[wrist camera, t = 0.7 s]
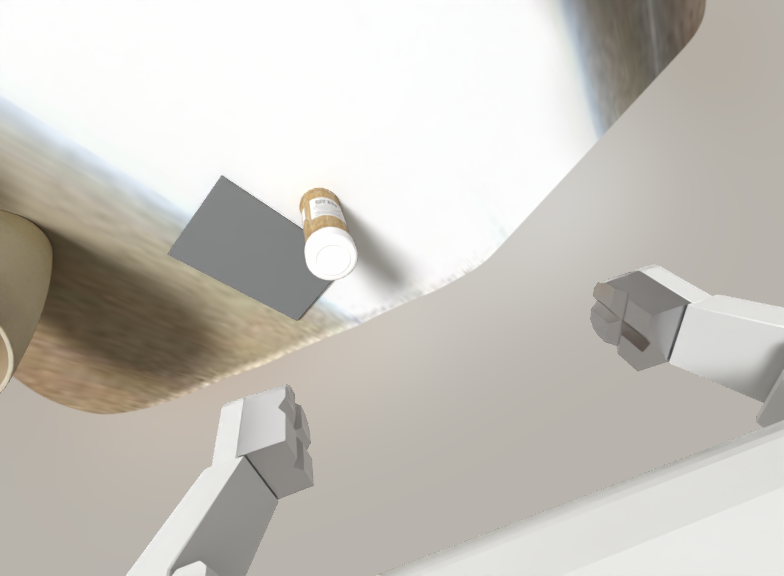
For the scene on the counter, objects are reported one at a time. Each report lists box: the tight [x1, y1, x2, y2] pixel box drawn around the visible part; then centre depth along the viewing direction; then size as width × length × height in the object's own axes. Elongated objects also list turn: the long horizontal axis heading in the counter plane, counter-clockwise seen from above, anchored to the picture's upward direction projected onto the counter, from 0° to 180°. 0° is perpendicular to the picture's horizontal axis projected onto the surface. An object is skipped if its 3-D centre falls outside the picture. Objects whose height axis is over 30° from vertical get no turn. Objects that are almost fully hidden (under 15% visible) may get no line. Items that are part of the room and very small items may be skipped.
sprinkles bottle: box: [300, 188, 358, 280], centre depth 38 cm, size 5×5×13 cm
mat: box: [168, 176, 332, 321], centre depth 45 cm, size 11×17×1 cm, turn 47°
